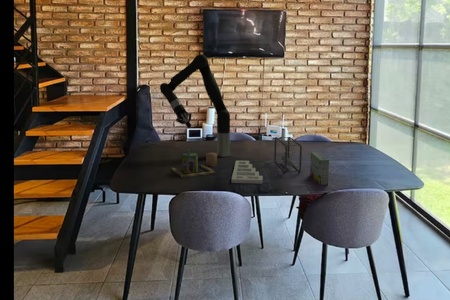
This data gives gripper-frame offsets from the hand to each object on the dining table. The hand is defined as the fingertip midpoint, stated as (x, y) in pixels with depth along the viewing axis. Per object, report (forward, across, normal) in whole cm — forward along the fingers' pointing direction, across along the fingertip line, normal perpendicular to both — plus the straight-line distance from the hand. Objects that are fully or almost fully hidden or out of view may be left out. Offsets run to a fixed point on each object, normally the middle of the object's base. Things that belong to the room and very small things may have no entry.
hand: (190, 127), depth 308 cm
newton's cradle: (+59, +35, -21) cm, 72 cm away
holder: (+52, +6, -23) cm, 57 cm away
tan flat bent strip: (+32, -20, -11) cm, 40 cm away
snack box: (+79, +30, -48) cm, 97 cm away
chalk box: (+32, -22, -11) cm, 41 cm away
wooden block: (+32, -3, -3) cm, 32 cm away
